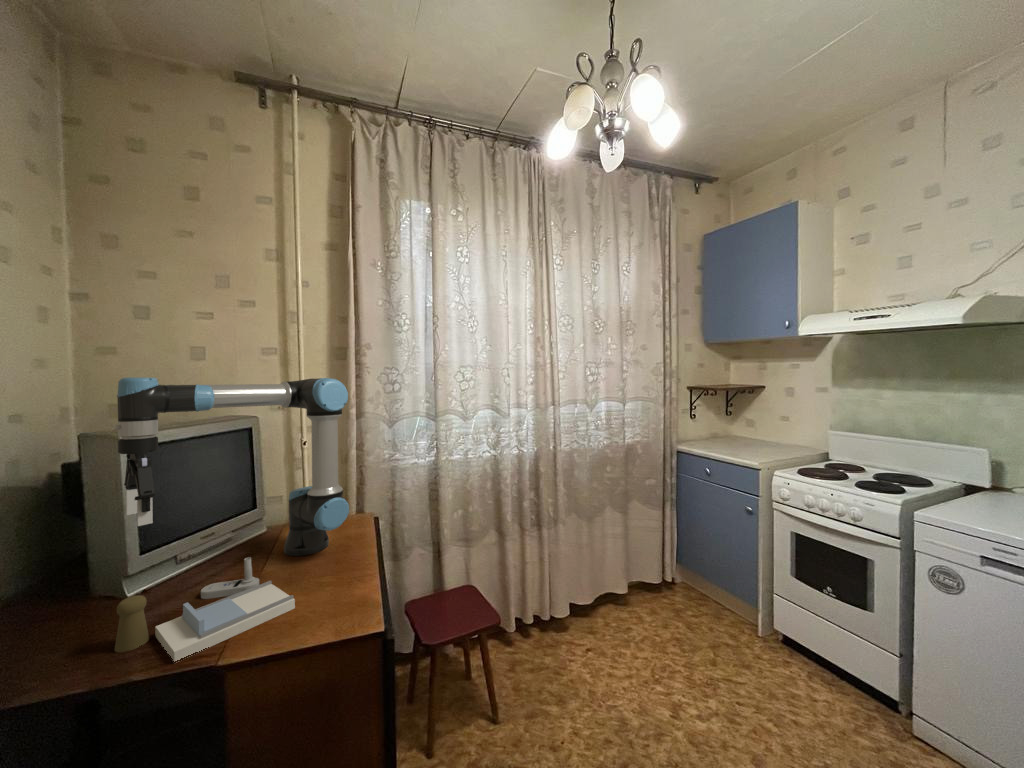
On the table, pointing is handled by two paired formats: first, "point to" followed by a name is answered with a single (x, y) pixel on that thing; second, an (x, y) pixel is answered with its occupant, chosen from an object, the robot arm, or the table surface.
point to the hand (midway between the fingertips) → (139, 518)
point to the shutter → (211, 615)
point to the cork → (131, 624)
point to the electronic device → (231, 584)
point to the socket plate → (254, 601)
